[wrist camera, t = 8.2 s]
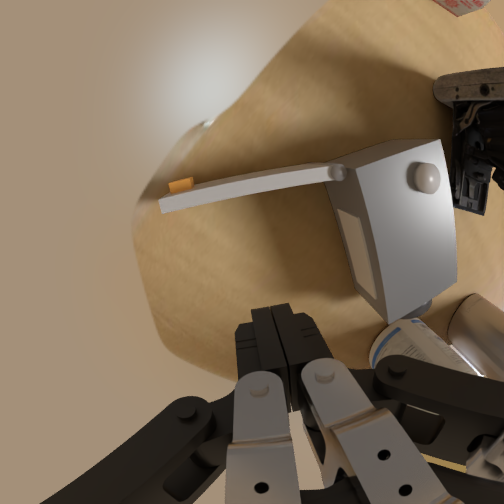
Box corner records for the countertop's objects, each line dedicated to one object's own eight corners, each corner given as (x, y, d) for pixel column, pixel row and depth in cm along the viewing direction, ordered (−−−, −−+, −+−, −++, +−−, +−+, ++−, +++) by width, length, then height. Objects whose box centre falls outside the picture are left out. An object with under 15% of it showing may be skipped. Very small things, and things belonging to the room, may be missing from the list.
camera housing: (418, 271, 29) (460, 302, 21) (357, 305, 29) (392, 347, 22) (391, 139, 24) (446, 139, 16) (316, 165, 24) (358, 170, 16)
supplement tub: (368, 377, 34) (412, 451, 20) (363, 332, 31) (424, 416, 17) (420, 349, 34) (473, 410, 20) (423, 302, 31) (493, 364, 17)
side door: (176, 201, 23) (161, 215, 17) (171, 180, 23) (155, 188, 17) (317, 174, 24) (347, 179, 18) (314, 153, 23) (344, 153, 17)
